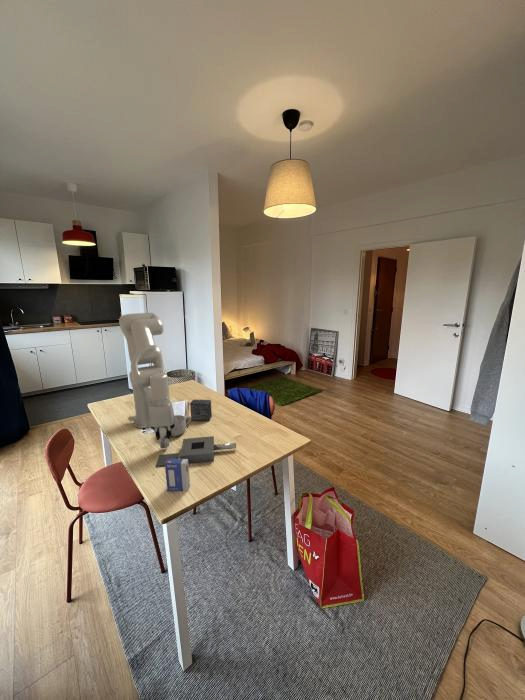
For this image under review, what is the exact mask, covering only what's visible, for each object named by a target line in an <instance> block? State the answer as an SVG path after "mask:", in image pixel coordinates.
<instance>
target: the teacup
mask: <svg viewBox="0 0 525 700" xmlns="http://www.w3.org/2000/svg"><path fill="white" fill-rule="evenodd" d="M174 417H175V418H176V419H177V420H178V421H179V423H178V424H177V425H176V426H174V427H173V428H172V429H171V433H172V435H171V436H170V437H178V436H180V435H182V434H184V432H185V431H186V428H187V426H188V425H189V424H190V422H191V415H189V414H188V415H182V414H174ZM187 419H188V420H187Z"/></svg>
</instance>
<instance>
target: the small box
mask: <svg viewBox="0 0 525 700" xmlns="http://www.w3.org/2000/svg"><path fill="white" fill-rule="evenodd" d="M189 407H190V417H191V421H192V422H210V421H211V419H212V417H213V414H212V400H211V399H192V400H191V402H190V403H189ZM191 421H190V422H191Z"/></svg>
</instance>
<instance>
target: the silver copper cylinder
mask: <svg viewBox="0 0 525 700" xmlns="http://www.w3.org/2000/svg"><path fill="white" fill-rule="evenodd" d="M158 429H159V447H160V448H159V449H168V447H170V439H168V435H167V431H168V427H167V426H164V427H158Z"/></svg>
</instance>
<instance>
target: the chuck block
mask: <svg viewBox="0 0 525 700" xmlns="http://www.w3.org/2000/svg"><path fill="white" fill-rule="evenodd" d="M233 449H237V443H236V442H231V443H228V442H227V443H219V444H215V436H214V435H212V436H211V435H210V436H201V437H199V436H198V437H189V438H188V437H187V438H183V439H182V443H181V450H180V454H179V459H188V465H189V464H198V463H207V462H208V463H210V462H215V451H221V450H223V451H224V450H233Z"/></svg>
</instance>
